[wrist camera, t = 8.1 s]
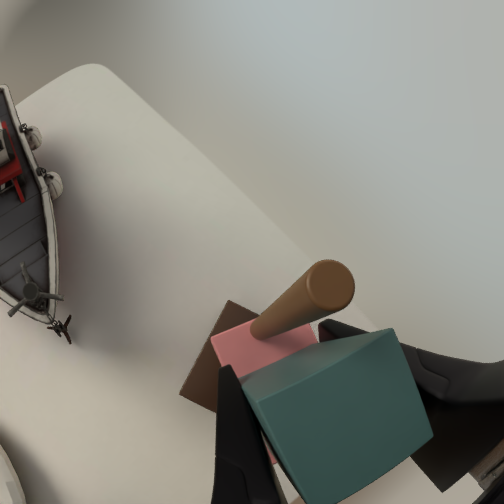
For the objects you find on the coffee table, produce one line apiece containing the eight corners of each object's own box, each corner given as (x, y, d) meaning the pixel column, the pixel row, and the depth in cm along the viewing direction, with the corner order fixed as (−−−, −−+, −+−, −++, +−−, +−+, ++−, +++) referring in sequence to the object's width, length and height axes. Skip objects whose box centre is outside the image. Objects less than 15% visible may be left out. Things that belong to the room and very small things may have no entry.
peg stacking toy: (331, 413, 12) (489, 462, 3) (261, 448, 11) (343, 574, 3) (284, 309, 14) (401, 220, 5) (210, 340, 13) (203, 303, 4)
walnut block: (312, 347, 23) (323, 345, 21) (271, 431, 20) (277, 439, 18) (226, 305, 23) (228, 299, 21) (182, 390, 21) (178, 394, 18)
